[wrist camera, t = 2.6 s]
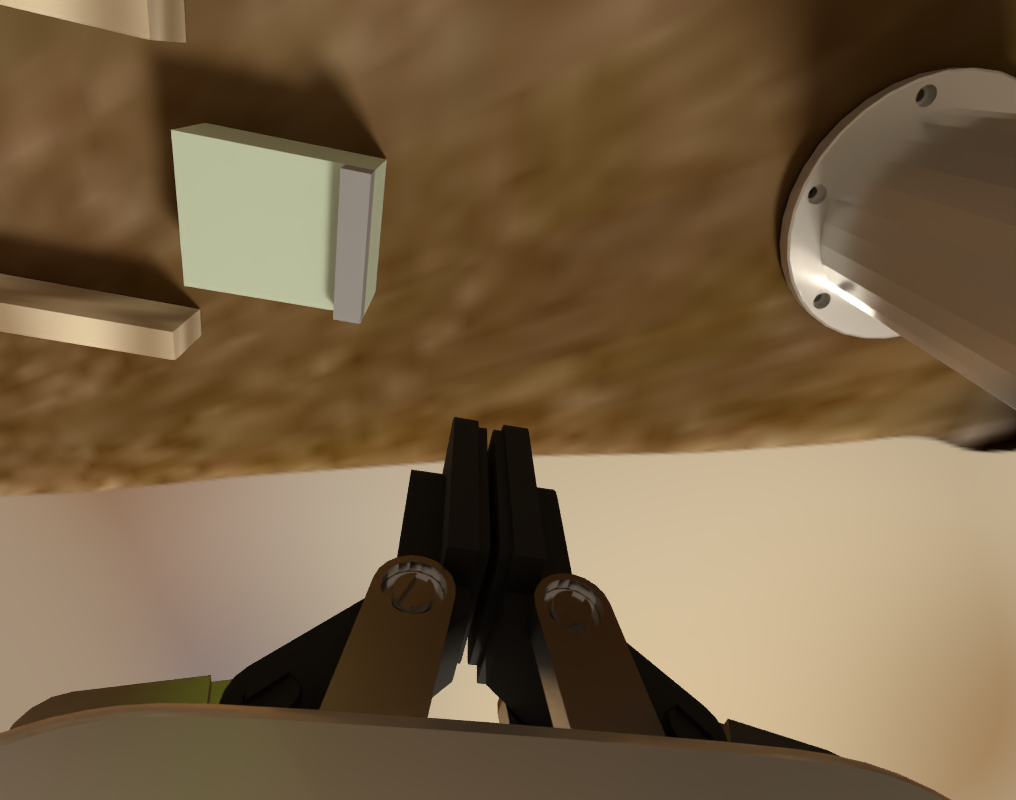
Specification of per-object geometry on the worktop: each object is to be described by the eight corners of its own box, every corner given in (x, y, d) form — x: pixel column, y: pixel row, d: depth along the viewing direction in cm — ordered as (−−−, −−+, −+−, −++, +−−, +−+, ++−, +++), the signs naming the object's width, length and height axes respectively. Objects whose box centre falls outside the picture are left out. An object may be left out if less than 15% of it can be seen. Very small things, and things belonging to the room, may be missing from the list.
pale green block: (387, 158, 27) (370, 174, 23) (376, 290, 30) (360, 323, 26) (207, 122, 26) (158, 132, 22) (215, 262, 29) (173, 293, 25)
